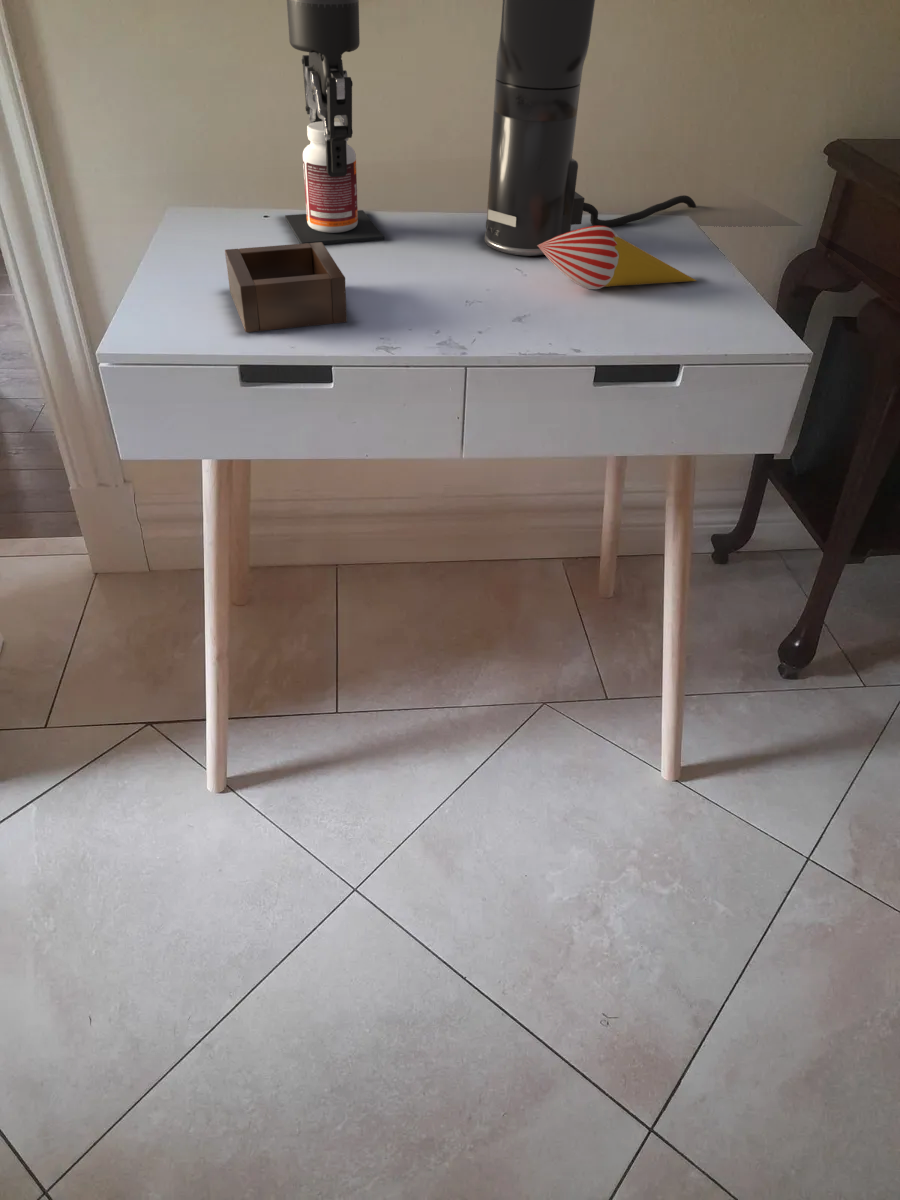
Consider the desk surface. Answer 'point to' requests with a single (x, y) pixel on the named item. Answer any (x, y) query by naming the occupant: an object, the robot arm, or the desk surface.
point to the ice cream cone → (606, 260)
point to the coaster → (359, 233)
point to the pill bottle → (328, 186)
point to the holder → (286, 286)
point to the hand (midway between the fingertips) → (330, 167)
